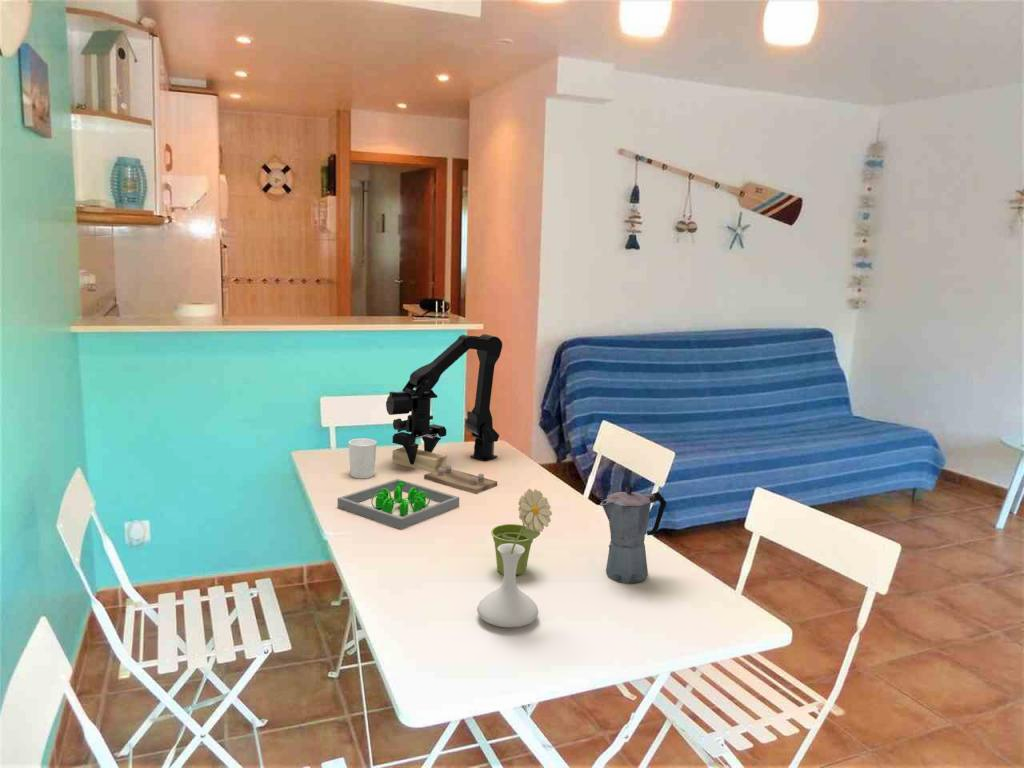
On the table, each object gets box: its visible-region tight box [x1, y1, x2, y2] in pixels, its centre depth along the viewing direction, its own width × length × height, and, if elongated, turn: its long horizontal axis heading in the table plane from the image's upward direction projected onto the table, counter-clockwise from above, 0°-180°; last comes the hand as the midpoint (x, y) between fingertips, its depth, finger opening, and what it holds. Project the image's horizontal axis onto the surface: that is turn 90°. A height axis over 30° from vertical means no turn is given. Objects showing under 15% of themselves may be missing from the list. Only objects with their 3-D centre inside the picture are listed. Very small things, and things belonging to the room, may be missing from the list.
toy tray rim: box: [337, 478, 460, 530], centre depth 196 cm, size 22×22×2 cm
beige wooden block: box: [391, 446, 448, 473], centre depth 233 cm, size 6×16×4 cm, turn 60°
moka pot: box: [599, 485, 667, 584], centre depth 162 cm, size 10×15×20 cm, turn 113°
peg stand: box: [423, 464, 498, 494], centre depth 219 cm, size 10×19×3 cm, turn 55°
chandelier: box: [370, 480, 431, 517], centre depth 196 cm, size 15×15×7 cm
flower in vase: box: [476, 488, 553, 628], centre depth 140 cm, size 13×11×25 cm
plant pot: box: [490, 523, 534, 576], centre depth 162 cm, size 9×9×9 cm
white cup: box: [348, 437, 378, 479], centre depth 220 cm, size 8×8×10 cm
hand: (419, 462), depth 233 cm, fingers closed on beige wooden block, 6 cm apart
